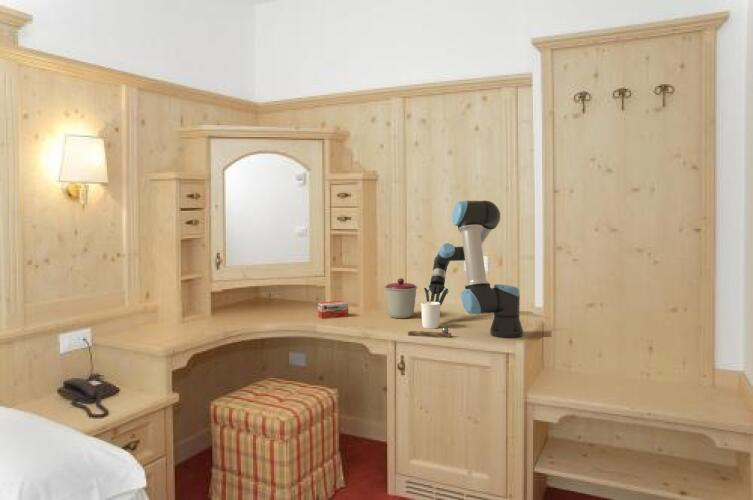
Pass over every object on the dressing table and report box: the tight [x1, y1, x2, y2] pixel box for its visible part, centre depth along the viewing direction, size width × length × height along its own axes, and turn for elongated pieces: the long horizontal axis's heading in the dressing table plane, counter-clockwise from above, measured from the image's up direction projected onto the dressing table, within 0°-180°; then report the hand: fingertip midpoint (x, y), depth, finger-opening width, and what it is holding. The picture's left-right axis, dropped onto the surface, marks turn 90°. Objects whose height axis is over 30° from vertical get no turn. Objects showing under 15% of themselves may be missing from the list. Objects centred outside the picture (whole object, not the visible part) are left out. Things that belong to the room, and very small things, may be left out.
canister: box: [383, 278, 418, 319], centre depth 340 cm, size 18×18×21 cm
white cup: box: [420, 301, 441, 330], centre depth 313 cm, size 10×10×12 cm
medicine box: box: [317, 300, 349, 320], centre depth 343 cm, size 15×8×8 cm, turn 112°
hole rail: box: [407, 330, 452, 339], centre depth 293 cm, size 20×4×2 cm, turn 74°
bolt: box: [441, 326, 449, 334], centre depth 290 cm, size 3×3×2 cm
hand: (432, 315), depth 319 cm, fingers closed
